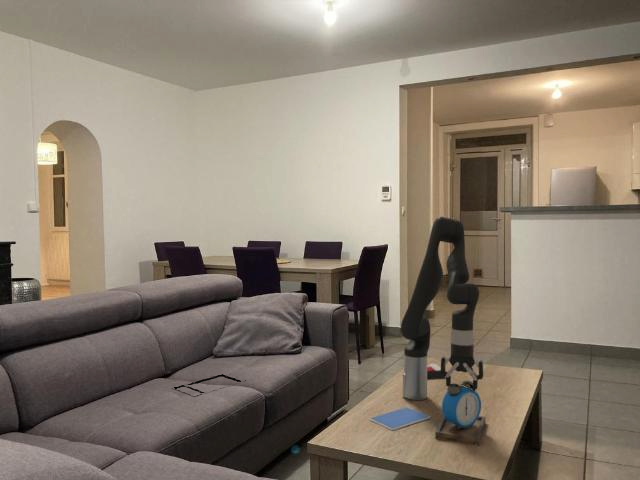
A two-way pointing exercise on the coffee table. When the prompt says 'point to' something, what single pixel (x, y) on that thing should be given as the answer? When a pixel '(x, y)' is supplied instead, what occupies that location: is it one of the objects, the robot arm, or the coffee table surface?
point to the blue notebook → (399, 418)
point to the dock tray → (461, 431)
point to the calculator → (434, 371)
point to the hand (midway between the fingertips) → (461, 388)
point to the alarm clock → (461, 404)
